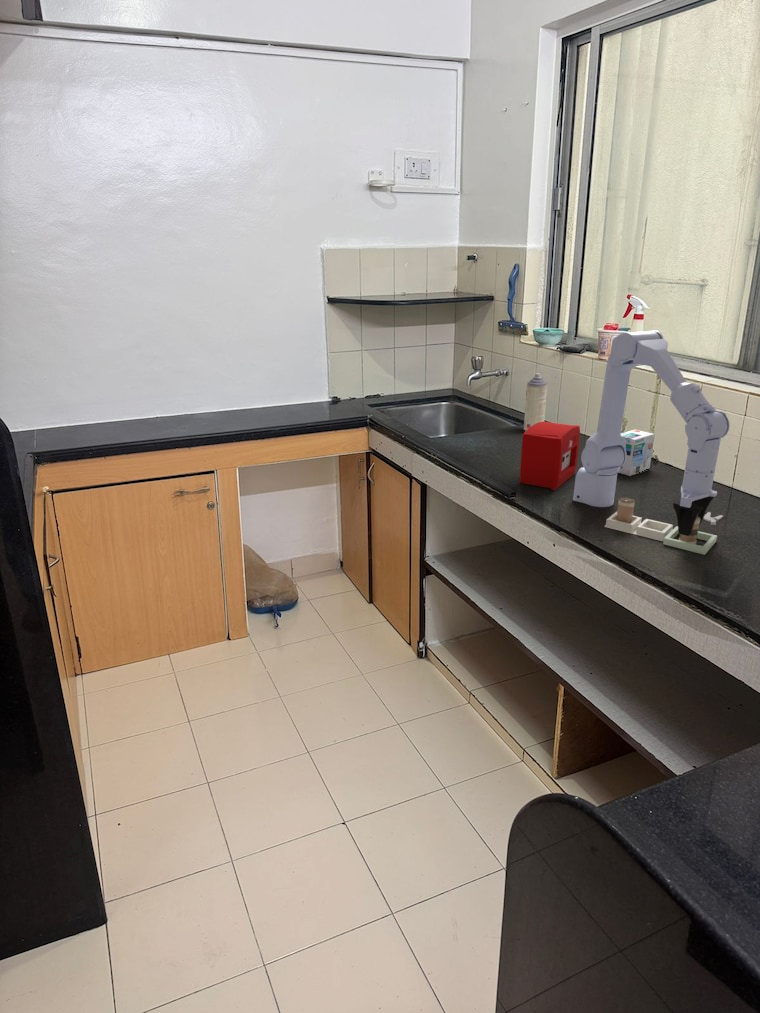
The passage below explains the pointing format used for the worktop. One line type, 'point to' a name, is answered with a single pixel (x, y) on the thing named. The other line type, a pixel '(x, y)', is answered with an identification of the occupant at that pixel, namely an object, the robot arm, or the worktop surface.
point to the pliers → (711, 519)
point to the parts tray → (704, 549)
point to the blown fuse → (693, 534)
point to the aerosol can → (535, 401)
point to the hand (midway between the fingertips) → (689, 529)
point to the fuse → (625, 510)
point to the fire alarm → (549, 454)
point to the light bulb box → (637, 451)
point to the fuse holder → (641, 527)
